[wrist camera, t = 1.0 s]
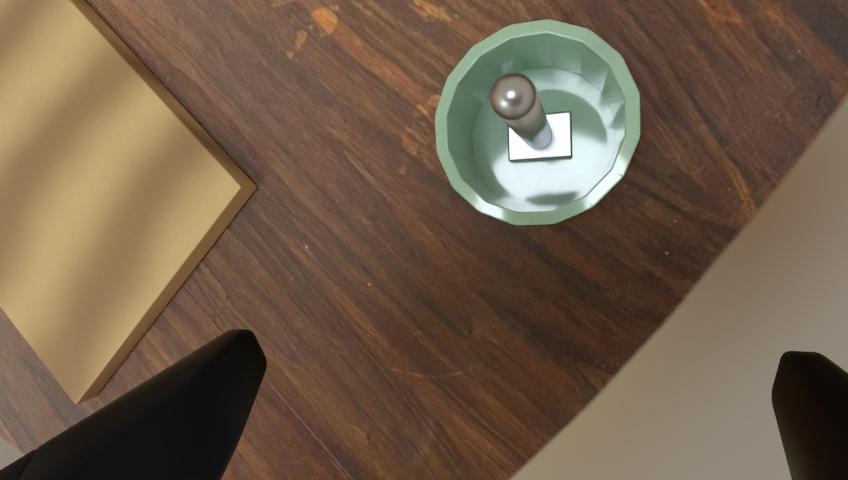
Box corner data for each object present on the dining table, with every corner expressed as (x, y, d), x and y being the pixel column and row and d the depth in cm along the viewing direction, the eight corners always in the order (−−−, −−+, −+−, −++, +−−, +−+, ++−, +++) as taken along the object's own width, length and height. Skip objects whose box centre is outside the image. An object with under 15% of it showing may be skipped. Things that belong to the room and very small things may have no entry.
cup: (626, 214, 22) (641, 221, 17) (468, 220, 24) (439, 227, 19) (623, 49, 22) (639, 4, 16) (462, 70, 24) (430, 36, 19)
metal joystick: (571, 113, 22) (567, 42, 11) (572, 158, 22) (570, 127, 12) (509, 120, 23) (453, 58, 12) (511, 162, 23) (456, 137, 12)
